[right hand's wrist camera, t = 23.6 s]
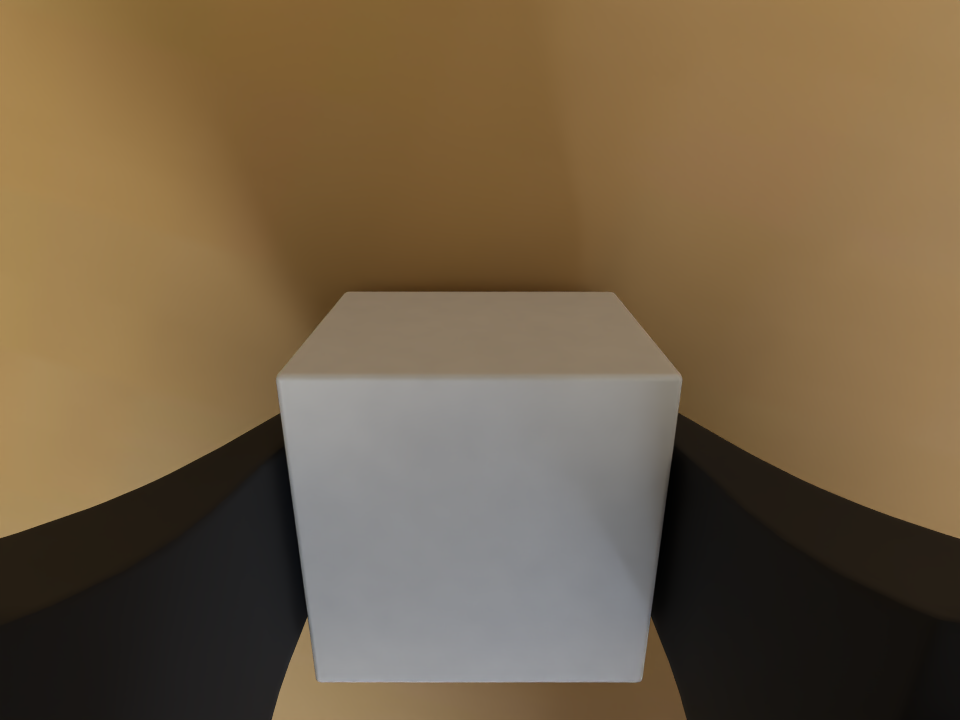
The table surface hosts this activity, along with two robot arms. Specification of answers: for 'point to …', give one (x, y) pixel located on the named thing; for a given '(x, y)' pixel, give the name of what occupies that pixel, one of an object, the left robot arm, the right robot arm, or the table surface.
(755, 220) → the table surface
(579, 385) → the brick
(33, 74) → the table surface
